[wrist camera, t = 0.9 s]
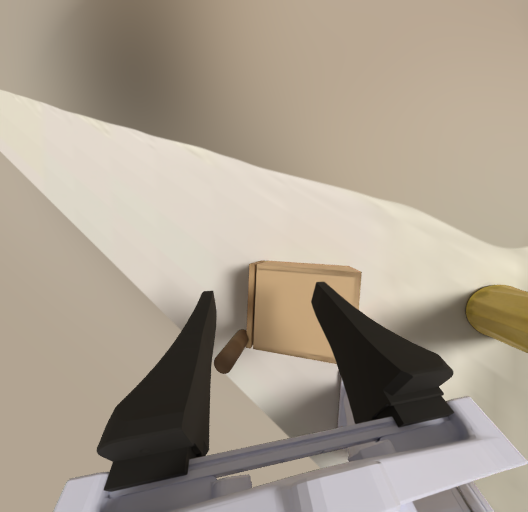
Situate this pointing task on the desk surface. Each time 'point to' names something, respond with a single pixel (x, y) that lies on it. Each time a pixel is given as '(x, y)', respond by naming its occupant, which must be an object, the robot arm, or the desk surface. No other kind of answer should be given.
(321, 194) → the desk surface
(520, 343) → the vase
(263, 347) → the carton
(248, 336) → the wooden paddle
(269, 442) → the robot arm
